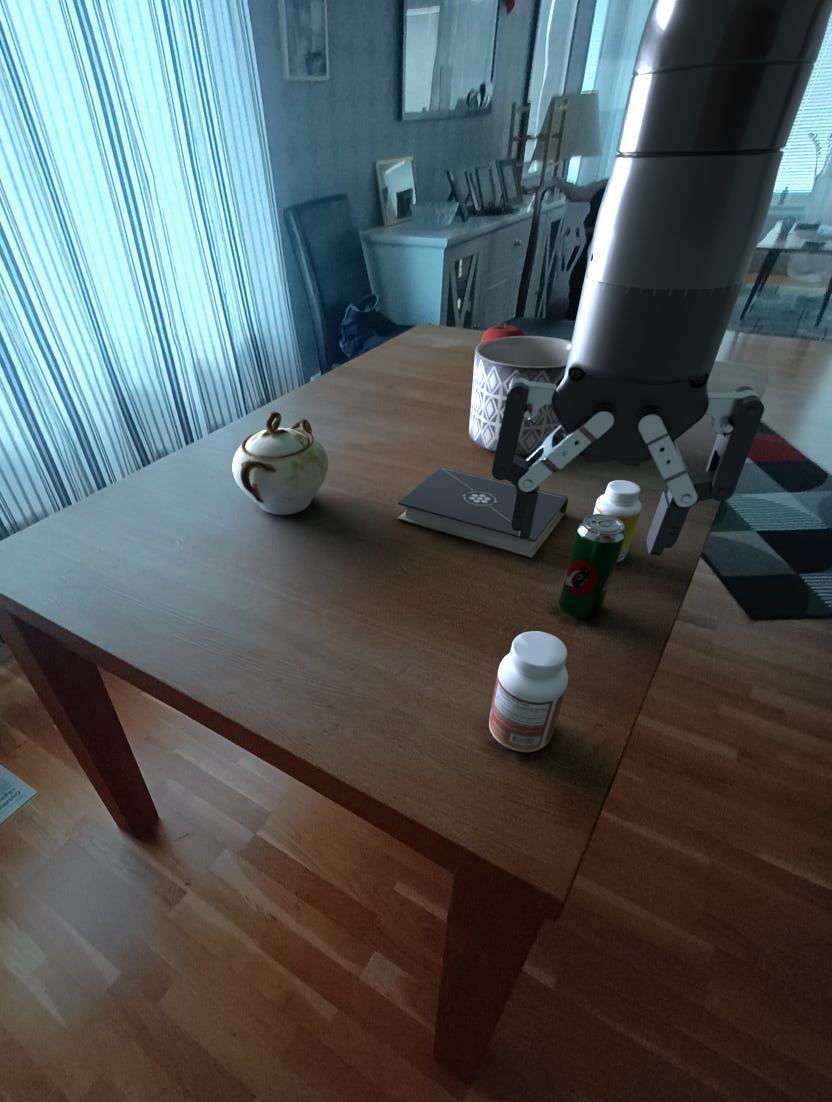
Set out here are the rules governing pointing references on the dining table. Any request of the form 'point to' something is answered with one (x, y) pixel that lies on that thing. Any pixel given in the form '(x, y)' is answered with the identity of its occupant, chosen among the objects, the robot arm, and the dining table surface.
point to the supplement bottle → (621, 508)
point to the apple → (501, 332)
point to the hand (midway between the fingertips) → (587, 541)
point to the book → (480, 510)
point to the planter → (493, 379)
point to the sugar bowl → (281, 466)
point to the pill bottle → (529, 692)
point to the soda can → (591, 565)
